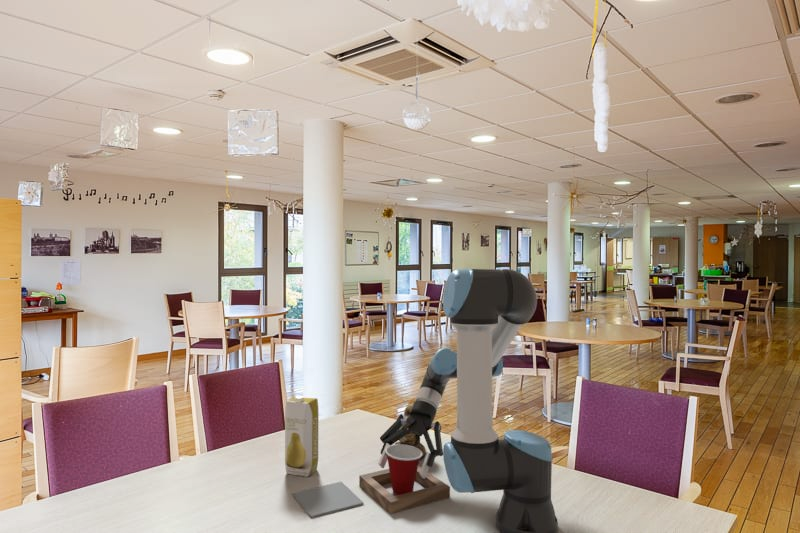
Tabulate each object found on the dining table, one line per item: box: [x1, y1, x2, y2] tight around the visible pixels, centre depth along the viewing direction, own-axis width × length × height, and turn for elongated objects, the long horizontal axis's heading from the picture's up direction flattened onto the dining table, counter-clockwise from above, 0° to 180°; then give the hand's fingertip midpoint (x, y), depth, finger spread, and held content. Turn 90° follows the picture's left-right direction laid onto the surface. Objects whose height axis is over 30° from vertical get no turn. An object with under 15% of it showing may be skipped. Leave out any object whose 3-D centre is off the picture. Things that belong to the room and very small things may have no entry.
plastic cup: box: [385, 444, 423, 496], centre depth 151 cm, size 11×11×12 cm
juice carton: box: [284, 395, 319, 478], centre depth 164 cm, size 9×8×24 cm
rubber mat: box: [291, 481, 365, 518], centre depth 146 cm, size 15×15×1 cm
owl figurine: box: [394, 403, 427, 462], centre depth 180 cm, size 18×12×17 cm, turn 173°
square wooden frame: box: [358, 465, 451, 514], centre depth 151 cm, size 19×19×3 cm
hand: (401, 471), depth 150 cm, fingers open, 13 cm apart
